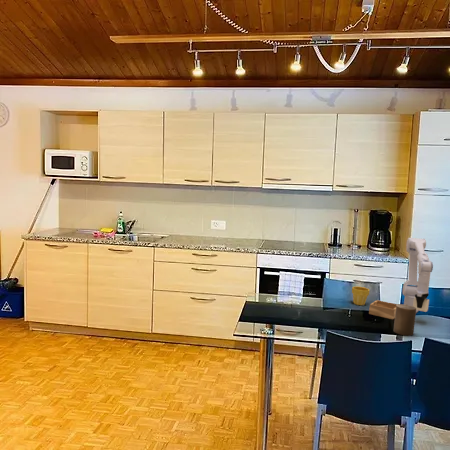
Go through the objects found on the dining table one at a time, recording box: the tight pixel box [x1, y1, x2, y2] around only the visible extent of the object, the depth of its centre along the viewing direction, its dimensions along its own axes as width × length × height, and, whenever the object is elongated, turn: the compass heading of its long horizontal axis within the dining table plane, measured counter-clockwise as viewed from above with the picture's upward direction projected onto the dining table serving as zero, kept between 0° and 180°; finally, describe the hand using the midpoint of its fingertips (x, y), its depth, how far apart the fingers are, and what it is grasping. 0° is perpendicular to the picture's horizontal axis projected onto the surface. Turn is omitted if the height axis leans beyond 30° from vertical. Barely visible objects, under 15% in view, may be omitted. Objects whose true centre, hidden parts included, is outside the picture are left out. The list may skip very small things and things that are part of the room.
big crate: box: [368, 299, 398, 320], centre depth 270 cm, size 14×14×6 cm
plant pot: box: [351, 285, 370, 306], centre depth 288 cm, size 10×10×10 cm
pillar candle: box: [393, 303, 417, 337], centre depth 238 cm, size 10×10×15 cm
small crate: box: [413, 298, 430, 313], centre depth 258 cm, size 5×7×6 cm
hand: (420, 306), depth 258 cm, fingers closed on small crate, 5 cm apart
